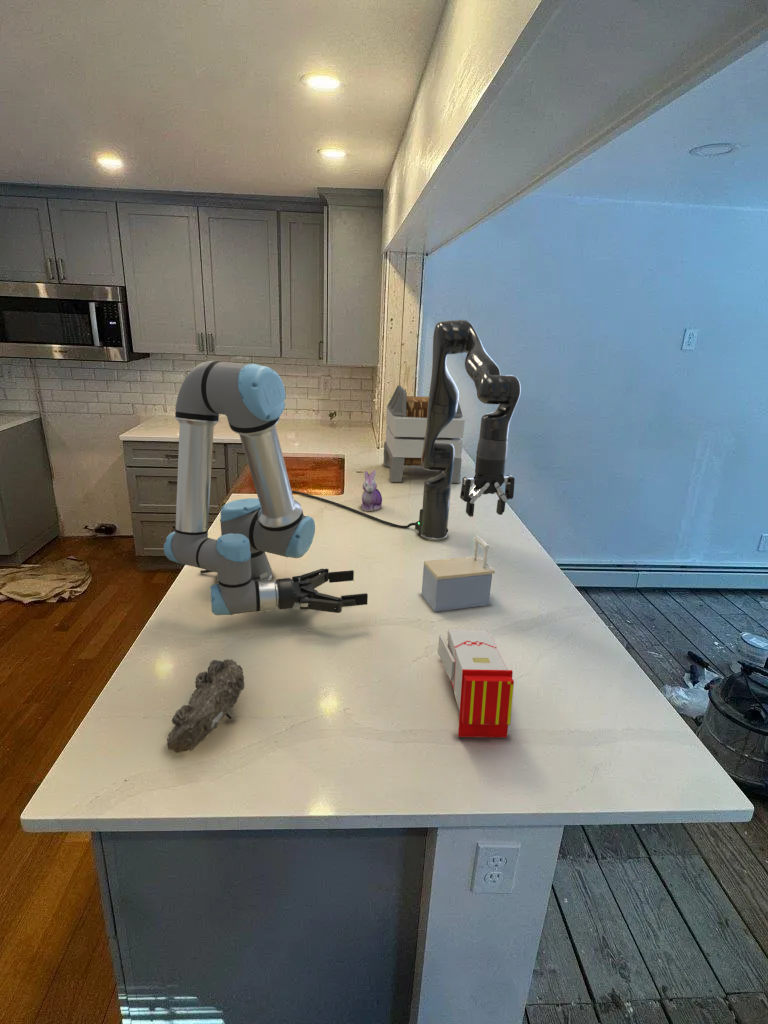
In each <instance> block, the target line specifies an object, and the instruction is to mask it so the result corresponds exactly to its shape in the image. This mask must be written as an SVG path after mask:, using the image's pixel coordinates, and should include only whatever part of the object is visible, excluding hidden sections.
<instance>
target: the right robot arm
mask: <svg viewBox="0 0 768 1024" xmlns="http://www.w3.org/2000/svg"><path fill="white" fill-rule="evenodd" d="M464 353H465V354H466V356H465V359H464V360H465V361H464V369H465V371H466V373H467V375H468V377H470V379H471V380H472V382H473V384H474V388H475V391H476V396H477V399H478V400H479V401H480V402H481V403H483V404H485V405H498V406H497V408H496V409H495V410H494V411H492V412H488V413H485V414H483V415H482V416H481V418H480V427H479V438H478V441H477V445H476V456H475V465H474V467H475V468H474V477H467V476H464V477H462V482H461V487H460V495H459V498H460V499H461V500H462V501H463V502H466V506H465V514H467V516H468V517H469V518H473V517H474V514H475V505H476V503H475V502H476V501H477V500H478V499H479V498H480V497H481V496H482V495H489V494H491V495H494V494H495V495H496V496H497V497H498V499H497V502H496V509H495V510H496V512H495V513H496V514H497V515H499V516H503V513H504V512H505V510H506V502H507V501H508V500H512V499H514V495H515V477H514V476H512V475H510V474H507V475H506V476H504V475H505V472H506V463H507V454H508V441H509V440H508V438H509V429H510V424H511V421H512V417H513V415H514V412H515V409H516V407H517V405H518V402H519V400H520V397H521V393H522V388H521V387H522V385H521V382H520V380H519V378H518V377H517V376H515V375H513V374H501V370H500V367H499V366H498V364H497V363H496V362H495V360H493V359H492V357H491V356H490V355H489V354H488V353H487V351H486V349H485V348H484V346H483V343H482V341H481V339H480V337H479V335H478V332H477V330H476V329H475V327H474V325H473V324H472V323H471V322H470V321H469V320H467V319H453V320H441V321H437V323H436V324H435V327H434V330H433V336H432V360H431V361H432V362H431V363H432V365H431V378H430V385H429V392H428V397H429V399H428V411H427V424H426V432H425V438H424V443H423V449H422V456H421V463H422V466H421V467H422V468H423V470H426V471H435V472H436V471H437V472H439V474H437V475H435V476H432V477H429V478H427V479H425V480H424V482H423V493H422V496H423V497H422V506H421V508H420V509H419V516H418V520H417V521H415V522H411V523H408V524H406V525H402V524H401V525H400V524H396V523H394V522H391V521H387V520H383V519H381V518H378V517H376V516H373V515H370V514H369V513H365V512H363V511H360V510H358V509H356V508H352V507H350V506H347V505H344V504H342V503H338V502H336V501H334V500H333V501H332V500H330V499H326V498H324V497H321V496H320V497H319V496H316V495H312V494H309V493H304V492H301V491H297V490H293V489H291V491H292V494H297V495H301V496H305V497H308V498H312V499H314V500H315V499H316V500H319V501H321V502H326V503H329V504H332V505H335V506H337V507H341V508H343V509H346V510H349V511H351V512H354V513H357V514H359V515H362V516H364V517H366V518H369V519H372V520H374V521H377V522H379V523H382V524H385V525H388V526H392V527H395V528H400V529H409V528H410V527H412V526H414V530H415V531H417V535H418V536H420V538H421V539H424V540H426V541H432V542H440V541H444V540H446V539H447V538H448V533H449V528H448V525H449V517H450V516H449V514H450V504H451V494H452V493H451V491H452V483H451V481H452V472H453V465H454V458H455V449H454V446H453V445H452V444H448V443H435V440H436V438H437V437H438V435H439V434H440V432H441V431H442V430H443V429H444V428H445V427H446V426H447V425H448V424H449V423H450V422H451V421H452V419H453V418H454V417H455V415H456V413H457V407H458V402H459V399H460V391H459V388H458V386H457V384H456V382H455V381H454V379H453V377H452V376H451V374H450V372H449V369H448V367H447V357H448V355H461V354H464ZM440 471H442V472H440ZM473 484H474V486H473ZM503 484H505V485H504V486H505V487H504V490H503V489H502V485H503ZM472 486H473V487H472ZM471 487H472V489H471Z"/></svg>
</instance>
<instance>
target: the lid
mask: <svg viewBox="0 0 768 1024" xmlns="http://www.w3.org/2000/svg"><path fill="white" fill-rule="evenodd" d="M473 540H474V550H473V556H466V557H453V558H444V559H431V560H424V561H423V566H424V565H425V566H426V567H427V568H428V569H429V570H430V572H431V573H432V574H433V575H434V576H435V577H436V579H437V580H439V579H449V578H458V577H468V576H478V575H487V574H492V575H495V572H496V571H495V569H494V568H492V567H491V566H490V565H489V564H488V562H487V561H488V554H489V550H490V548H491V546H490V544H488V543H487V542H486V541H485V540H484V539H482V538H481V537H480V536H478V535H475V536H474V537H473ZM479 546H480V547H482V548H483V550H484V552H483V558H481V557H480V556H479V555H478V554H479V553H478V551H479Z"/></svg>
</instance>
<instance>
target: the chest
mask: <svg viewBox="0 0 768 1024" xmlns="http://www.w3.org/2000/svg"><path fill="white" fill-rule="evenodd" d="M492 580H493V574H487V575H478V576H468V577H458V578H449V579H439V580H437V579H436V577H435V576H434V575H433V574H432V573H431V572H430V570H429V569H428V568H427V567H426V566H425V565H424V564H423V572H422V583H421V584H422V585H421V596H422V597H423V599H424V600H425V601H426V602H427V604H428V605H429V606H430V608H431V609H432V610H433V612H436V613H437V612H444V611H451V610H459V609H467V608H468V609H469V608H477V607H485V606H486V607H487V606H489V605H490V599H491V589H492V582H493V581H492Z"/></svg>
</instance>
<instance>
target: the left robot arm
mask: <svg viewBox="0 0 768 1024" xmlns="http://www.w3.org/2000/svg"><path fill="white" fill-rule="evenodd" d="M286 397H287V396H286V389H285V385H284V382H283V380H282V378H281V376H280V375H279V374H278V372H277V371H275V370H274V369H273V368H271V367H269V366H267V365H260V364H257V363H239V362H229V361H220V360H208V361H204V362H201V363H199V364H197V365H196V366H195V367H193V368H192V369H191V371H189V372H188V373H187V375H186V376H185V378H184V379H183V381H182V383H181V386H180V388H179V391H178V394H177V397H176V403H175V417H174V419H175V420H176V421H177V422H178V423H179V434H178V454H177V455H178V457H177V459H178V460H177V479H176V480H177V481H176V504H175V505H176V506H175V527H174V531H172V532H170V533H169V534H168V535H167V536H166V538H165V542H164V543H163V553H164V555H165V557H166V558H167V559H168V560H169V561H171V562H175V563H177V564H180V565H183V566H188V567H194V568H198V569H201V570H200V574H210V573H216V574H217V575H216V578H217V583H215V584H211V585H210V603H211V605H210V606H211V612H212V614H213V615H215V616H233V615H238V614H239V615H240V614H248V613H258V612H264V613H265V612H267V611H269V612H270V611H275V610H277V609H278V610H281V611H282V610H289V609H290V610H291V609H293V608H294V606H295V604H299V609H300V610H302V611H304V610H305V611H306V610H307V611H309V610H310V611H317V612H318V611H319V612H327V613H335V614H340V613H341V612H343V608H347V607H355V606H365V605H368V600H369V599H368V595H369V594H368V593H367V592H365V593H355V594H346V595H345V594H343V595H340V597H339V596H334V595H330V594H326V593H322V592H319V591H318V590H317V588H318V587H320V586H322V585H323V584H325V583H327V582H329V584H330V583H331V584H332V583H342V582H353V581H354V579H355V578H354V577H355V571H354V570H353V569H352V570H341V571H340V570H339V571H329V570H330V569H329V568H320V569H316V570H313V571H309V572H307V573H303V574H301V575H295V576H292V577H283V578H277V579H276V580H275V579H273V570H272V567H271V564H270V561H269V559H268V556H267V554H266V553H268V554H273V555H275V556H276V555H277V556H279V557H280V556H281V557H286V558H293V559H300V558H302V557H304V556H305V555H306V554H307V552H308V551H309V549H310V548H311V545H312V543H313V541H314V538H315V532H316V522H315V519H314V518H313V517H311V516H310V515H304V511H303V507H302V505H301V503H300V502H299V501H297V500H296V499H294V495H293V493H292V491H291V490H292V486H291V483H290V478H289V474H288V470H287V467H286V463H285V458H284V455H283V451H282V446H281V442H280V439H279V434H278V430H277V427H276V425H277V424H278V423H279V422H280V419H281V416H282V414H283V412H284V410H285V406H286V402H285V400H286ZM220 415H224V416H225V417H226V419H227V423H228V425H229V428H230V430H231V431H232V432H234V433H236V434H238V436H239V439H240V442H241V445H242V447H243V450H244V455H245V458H246V461H247V466H248V468H249V472H250V475H251V479H252V483H253V487H254V489H255V492H256V495H257V498H256V497H255V498H252V497H251V498H241V499H235V500H232V501H229V502H226V503H225V504H223V506H222V507H221V508H220V518H219V522H220V536H219V537H218V538H217V539H215V538H211V537H209V518H210V517H209V516H210V501H211V483H212V467H213V466H212V465H213V464H212V463H213V449H214V448H213V447H214V428H215V426H216V425H218V423H219V422H220V421H219V420H220Z"/></svg>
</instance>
